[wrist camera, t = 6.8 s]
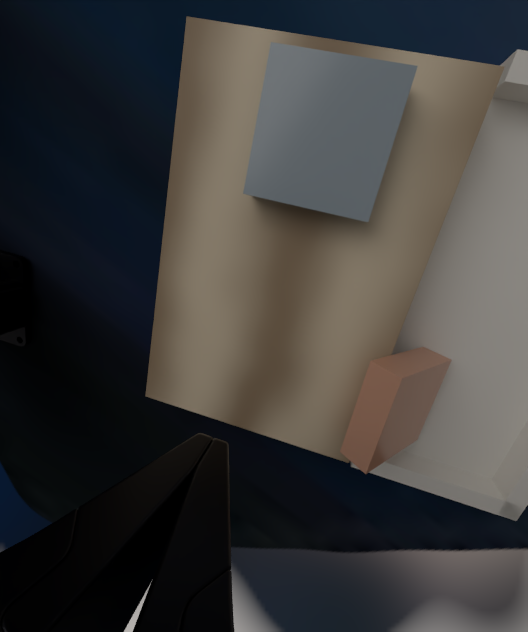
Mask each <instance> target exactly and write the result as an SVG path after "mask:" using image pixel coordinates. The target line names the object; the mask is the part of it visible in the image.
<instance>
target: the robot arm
mask: <svg viewBox="0 0 528 632" xmlns="http://www.w3.org/2000/svg"><path fill="white" fill-rule="evenodd" d="M0 340H2V341H5V342H8V343H11V344H14V345H17V346H21V347H22V346H25V345H27V344H29V343H30V342H31V331H30V299H29V268H28V262H27V260H26V259H25V258H24V257H22V256H19V255H15V254H11V253H8V252H4V251H1V250H0ZM230 570H231V540H230V495H229V450H228V443H227V442H225V441H222V440H219V439H216V438H215V439H213V438H212V437H211V436H208V435H205V434H202V433H198V434H196V435H195V436H193V437H191V438H190V439H188V440H187V441H185V442H183V443H182V444H180V445H179V446H177V447H175V448H174V449H172V450H171V451H169V452H167V453H166V454H164V455H162V456H161V457H159V458H158V459H156V460H154V461H153V462H151V463H150V464H148V465H146V466H145V467H143V468H141V469H140V470H138V471H137V472H135V473H133V474H132V475H130V476H129V477H127V478H125V479H124V480H122V481H120V482H119V483H117V484H116V485H114V486H112V487H111V488H109V489H108V490H106V491H104V492H103V493H101V494H100V495H98V496H96V497H95V498H93V499H91V500H90V501H88V502H87V503H85V504H83V505H82V506H80V507H79V509H78V510H77V509H75V510H73V511H72V512H70V513H69V514H67V515H65V516H64V517H62V518H60V519H59V520H57V521H56V522H54V523H52V524H50V525H49V526H47V527H45V528H44V529H42V530H40V531H39V532H37V533H35V534H34V535H32V536H30V537H28V538H27V539H25V540H23V541H21V542H19V543H17V544H15V545H14V546H12V547H10V548H8V549H6V550H4V551H2V552H1V553H0V632H124V630H125V628H126V626H127V624H128V623H129V621H130V619H131V617H132V615H133V614H134V612H135V610H136V608H137V606H138V605H139V603H140V601H141V599H142V597H143V596H144V594H145V592H146V590H147V588H148V587H149V585H150V583H151V585H150V588H149V590H148V593H147V596H146V599H145V601H144V603H143V606H142V609H141V611H140V614H139V617H138V619H137V622H136V625H135V627H134V630H133V632H234V625H233V624H234V623H233V604H232V577H231V571H230ZM152 579H153V580H152ZM151 581H152V582H151Z"/></svg>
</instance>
